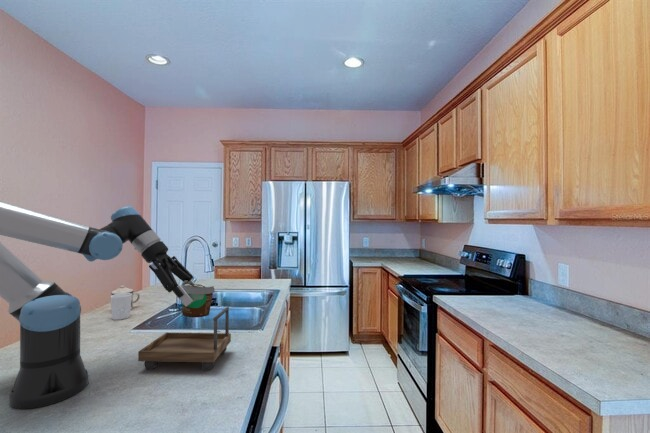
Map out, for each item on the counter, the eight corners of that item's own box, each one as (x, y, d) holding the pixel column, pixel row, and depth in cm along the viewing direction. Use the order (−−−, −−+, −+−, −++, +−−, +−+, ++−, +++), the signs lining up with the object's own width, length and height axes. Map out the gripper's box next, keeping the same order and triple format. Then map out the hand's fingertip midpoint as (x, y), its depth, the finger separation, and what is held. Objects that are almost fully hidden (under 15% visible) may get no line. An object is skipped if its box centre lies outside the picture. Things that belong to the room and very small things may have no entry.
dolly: (213, 373, 90) (213, 319, 90) (138, 372, 90) (138, 318, 90) (231, 350, 105) (231, 305, 105) (166, 349, 105) (166, 304, 105)
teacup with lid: (114, 314, 144) (114, 288, 144) (108, 310, 150) (108, 285, 150) (142, 308, 152) (142, 284, 152) (136, 304, 159) (136, 282, 158)
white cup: (124, 320, 135) (124, 297, 135) (106, 320, 135) (106, 297, 135) (135, 314, 143) (135, 292, 143) (118, 314, 143) (118, 292, 143)
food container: (169, 313, 102) (171, 283, 102) (183, 308, 108) (186, 279, 107) (198, 321, 98) (201, 290, 97) (212, 316, 103) (215, 286, 103)
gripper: (158, 251, 114) (198, 298, 114) (122, 258, 93) (171, 317, 93) (174, 237, 114) (214, 285, 114) (141, 242, 93) (190, 301, 93)
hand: (195, 300), depth 103 cm, fingers closed on food container, 8 cm apart
